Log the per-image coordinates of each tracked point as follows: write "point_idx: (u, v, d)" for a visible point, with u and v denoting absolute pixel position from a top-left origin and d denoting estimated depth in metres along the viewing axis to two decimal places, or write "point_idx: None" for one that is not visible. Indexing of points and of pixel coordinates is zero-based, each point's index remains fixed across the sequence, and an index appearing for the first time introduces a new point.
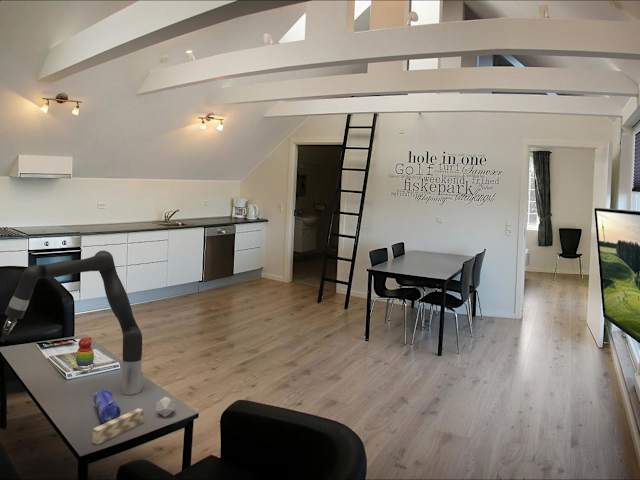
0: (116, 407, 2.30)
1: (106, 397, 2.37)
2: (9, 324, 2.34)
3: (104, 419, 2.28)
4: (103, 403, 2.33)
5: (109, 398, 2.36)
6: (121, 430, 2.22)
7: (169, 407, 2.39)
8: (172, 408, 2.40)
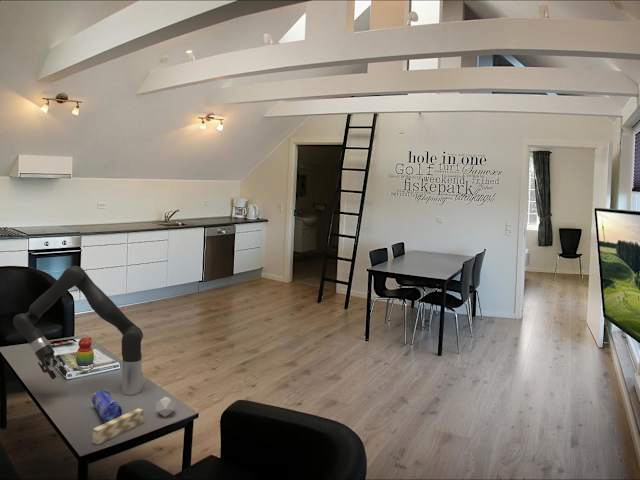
0: (118, 406, 2.31)
1: (106, 397, 2.37)
2: (41, 362, 2.40)
3: (106, 419, 2.28)
4: (104, 403, 2.33)
5: (109, 398, 2.36)
6: (121, 430, 2.22)
7: (169, 407, 2.39)
8: (172, 408, 2.40)
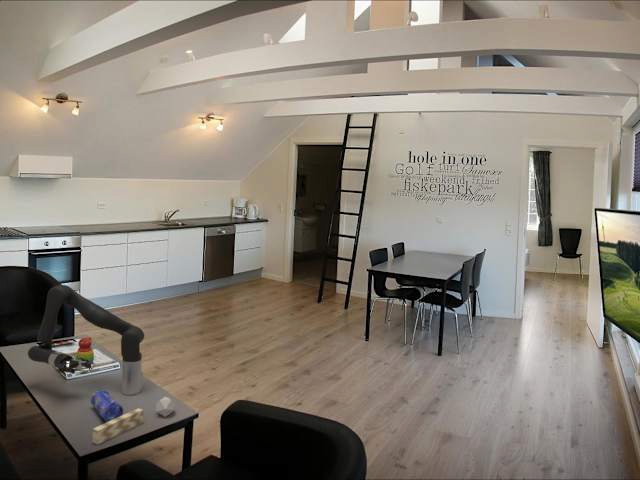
0: (119, 406, 2.31)
1: (106, 397, 2.37)
2: (56, 367, 2.42)
3: (107, 419, 2.28)
4: (104, 403, 2.33)
5: (109, 398, 2.36)
6: (121, 430, 2.22)
7: (169, 407, 2.39)
8: (172, 408, 2.40)
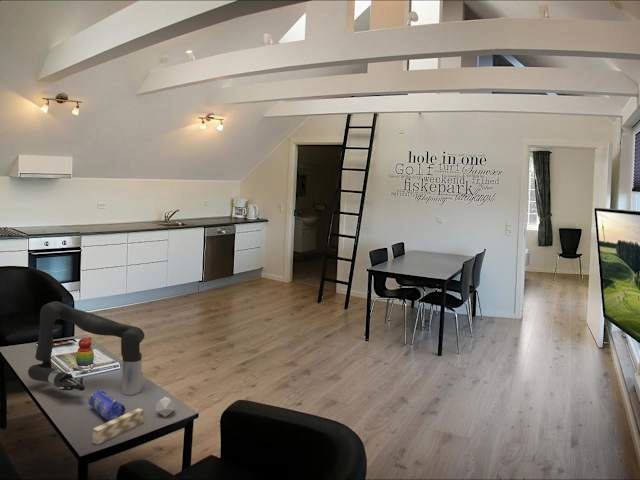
0: (121, 405, 2.32)
1: (106, 397, 2.37)
2: (61, 387, 2.43)
3: (110, 418, 2.29)
4: (105, 403, 2.33)
5: (110, 398, 2.36)
6: (121, 430, 2.22)
7: (169, 407, 2.39)
8: (172, 408, 2.40)
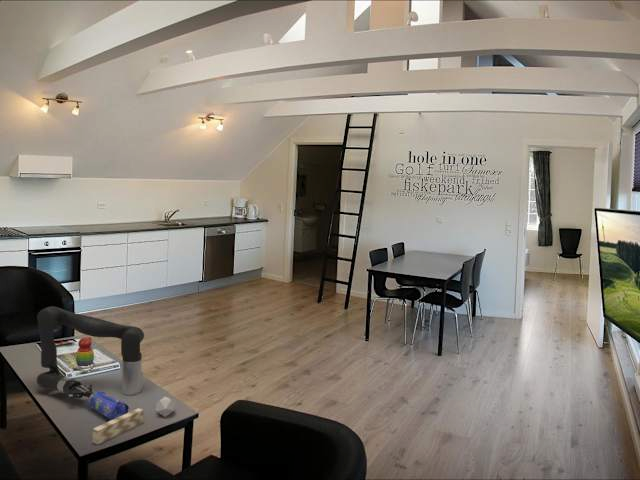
0: (124, 405, 2.33)
1: (108, 397, 2.36)
2: (70, 394, 2.40)
3: (114, 418, 2.29)
4: (108, 403, 2.33)
5: (112, 398, 2.36)
6: (121, 430, 2.22)
7: (169, 407, 2.39)
8: (172, 408, 2.40)
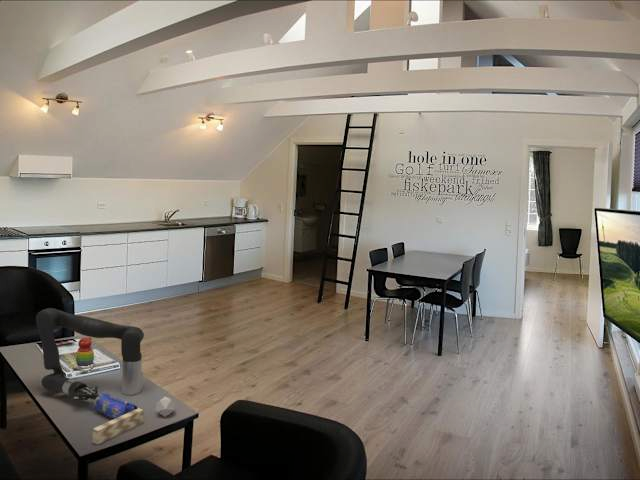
0: (133, 406, 2.33)
1: (115, 399, 2.35)
2: (76, 397, 2.38)
3: None
4: (116, 405, 2.32)
5: (119, 399, 2.35)
6: (121, 430, 2.22)
7: (169, 407, 2.39)
8: (172, 408, 2.40)
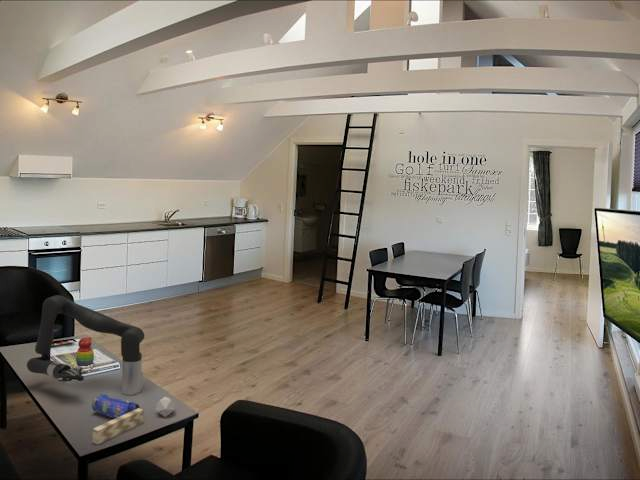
0: (135, 404, 2.34)
1: (115, 399, 2.35)
2: (60, 378, 2.43)
3: None
4: (118, 405, 2.32)
5: (119, 399, 2.35)
6: (121, 430, 2.22)
7: (169, 407, 2.39)
8: (172, 408, 2.40)
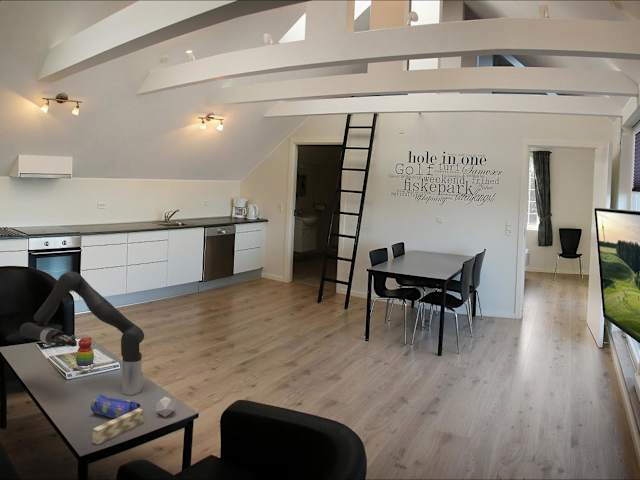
0: (136, 404, 2.35)
1: (115, 399, 2.35)
2: (53, 343, 2.41)
3: None
4: (119, 404, 2.32)
5: (119, 399, 2.36)
6: (121, 430, 2.22)
7: (169, 407, 2.39)
8: (172, 408, 2.40)
